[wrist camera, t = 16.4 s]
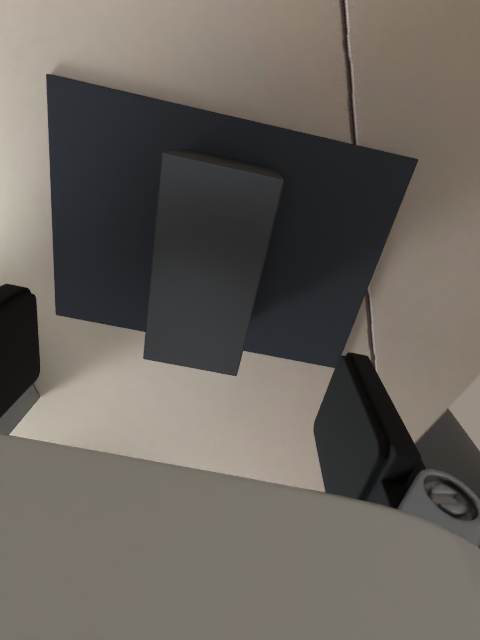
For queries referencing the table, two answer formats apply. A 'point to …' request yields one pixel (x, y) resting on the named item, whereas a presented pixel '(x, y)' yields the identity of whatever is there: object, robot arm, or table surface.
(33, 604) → the robot arm
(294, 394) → the table surface
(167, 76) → the table surface
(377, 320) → the table surface
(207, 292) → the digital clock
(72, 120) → the rubber mat
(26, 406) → the perfume bottle
